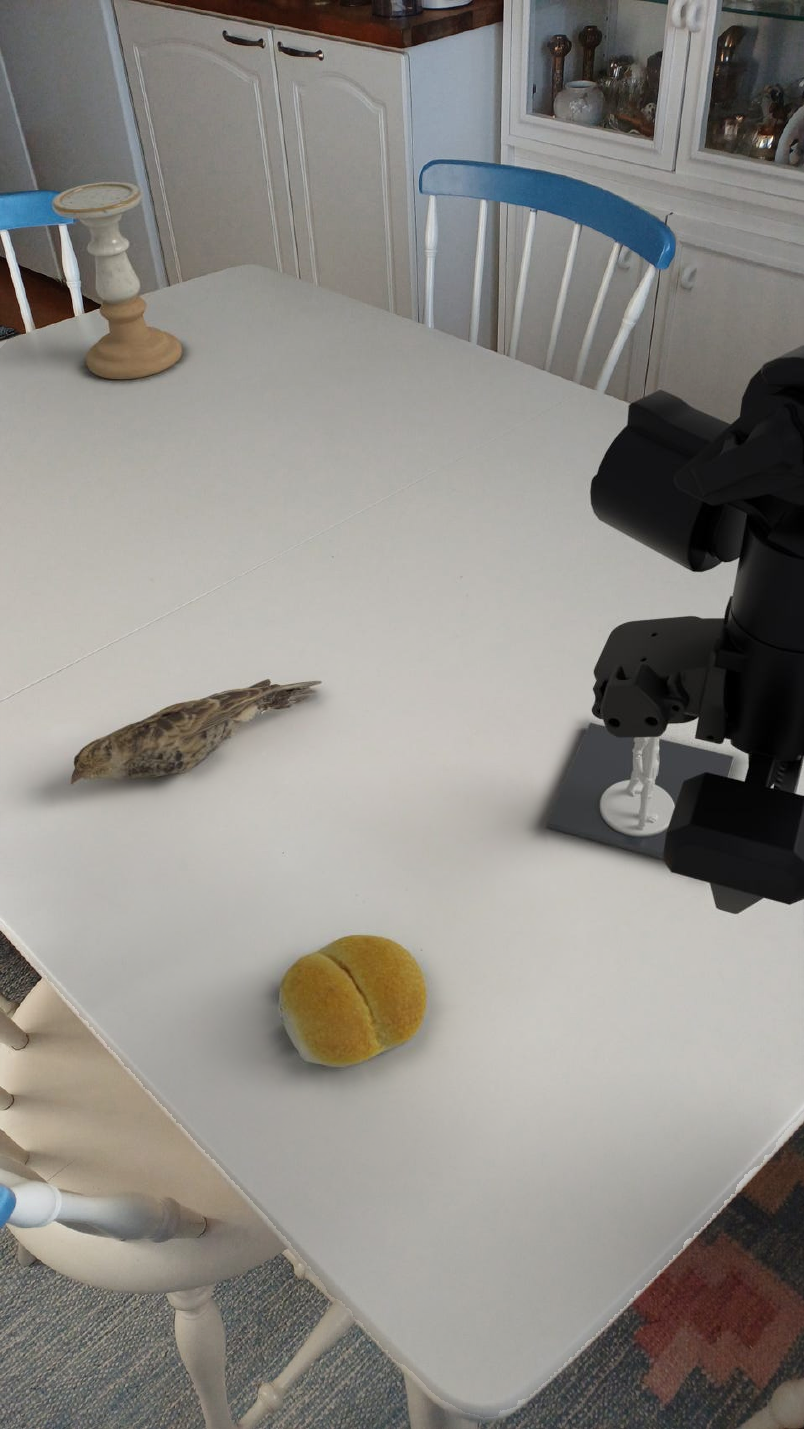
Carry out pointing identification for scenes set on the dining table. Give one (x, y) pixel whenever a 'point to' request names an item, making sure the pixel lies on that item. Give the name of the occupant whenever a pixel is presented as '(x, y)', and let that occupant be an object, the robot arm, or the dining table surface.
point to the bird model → (181, 733)
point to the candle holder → (117, 285)
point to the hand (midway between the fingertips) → (744, 844)
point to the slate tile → (611, 763)
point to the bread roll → (352, 1000)
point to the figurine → (639, 795)
